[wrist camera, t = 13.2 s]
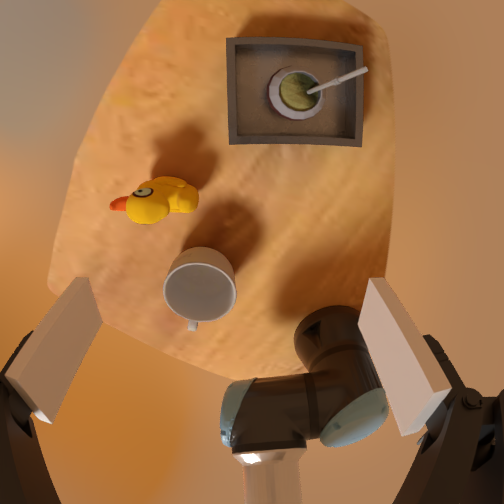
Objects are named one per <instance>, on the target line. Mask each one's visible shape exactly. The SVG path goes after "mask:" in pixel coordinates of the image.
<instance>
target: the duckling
mask: <svg viewBox="0 0 504 504" xmlns="http://www.w3.org/2000/svg"><path fill="white" fill-rule="evenodd" d="M198 202H199V194H198V191H197V189H196V188H195V187H193V186H192V185H189V184H187V183H186V181H184V180H182V179H180V178H176V177H170V176H161V177H157V178H155V179H154V180H150V181H146V182H144V183H142V184H141V185H140V186H139V187H138V189H137V190H136V191H135V192H133V193H132V194H131V195H130V196H125V197H120V198H117V199H115V200H114V201H112V202H111V204H110V210H117V211H126V212H127V215H128V217H129V218H130V219H131V220H132V221H134V222H136V223H138V224H144V225H147V224H153V223H156V222H158V221H160V220H161V219H163V218H164V217H166V216H167V215H168V214H169V212H184V213H190V212H193V211H194V210H195V209H196V208H197V206H198Z"/></svg>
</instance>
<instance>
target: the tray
mask: <svg viewBox="0 0 504 504" xmlns="http://www.w3.org/2000/svg"><path fill="white" fill-rule="evenodd" d="M226 56H227V96H228V128H229V145H235V144H314V145H335V146H351V147H362V133H363V93H364V83H363V74H360V75H358V76H355V77H353V78H350V79H348V80H345V81H343V82H342V83H341V84H339V85H332V86H330V87H327V88H326V100H325V103H324V105H323V107H322V109H321V110H320V111H319V112H318V113H317V114H316V115H315V116H313V117H311V118H308V119H306V120H303V121H294V120H288V119H286V118H283V117H281V116H279V115H278V114H277V113H276V112H275V111H274V110H273V109H272V108H271V107H270V104H269V102H268V100H267V91H266V87H267V84H268V82H269V80H270V78H271V76H272V75H273V74H275V73H276V72H277V71H278V70H279V69H282V68H285V67H288V66H304V67H306V68H309V69H311V70H313V71H315V72H316V73H317V74H318V75H319V76H320V78H321V79H322V80H323V83H325V82H328V81H330V80H332V78H335V77H337V76H343V75H345V74H348V73H350V72H352V71H355V70H357V69H360V68H362V67H363V46H360V45H354V44H348V43H341V42H333V41H325V40H315V39H303V38H285V37H235V38H226Z"/></svg>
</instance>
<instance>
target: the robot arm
mask: <svg viewBox="0 0 504 504" xmlns="http://www.w3.org/2000/svg"><path fill="white" fill-rule="evenodd" d="M102 323H103V321H102V318H101V315H100V312H99V310H98V307H97V304H96V301H95V298H94V295H93V291H92V288H91V285H90V282H89V278H85V277H76V278H75V279H74V280H73V281H72V283H71V284H70V285H69V286H68V287H67V289H66V290H65V291H64V292H63V294H62V295H61V296H60V297H59V299H58V300H57V301H56V303H55V304H54V305H53V306H52V308H51V309H50V310H49V311H48V313H47V314H46V315H45V317H44V318H43V320H42V321H41V322H40V323H39V325H38V326H37V327H36V329H35V330H34V331H31V332H30V333H29V334H27V335H26V336H25V337H24V338H23V340H22V341H21V342H20V344H19V347H17V348H16V350H15V351H14V353H13V354H12V356H11V357H10V358H9V360H8V361H7V363H6V365H5V366H4V368H3V369H2V371H1V372H0V504H61V502H60V500H59V497H58V495H57V493H56V490H55V488H54V486H53V483H52V480H51V478H50V475H49V472H48V470H47V467H46V464H45V461H44V458H43V455H42V452H41V448H40V446H39V442H38V438H37V435H36V431H35V427H34V423H33V420H32V418H31V417H30V414H31V412H33V413H34V414H35V415H36V416H37V417H38V418H39V419H40V420H42V421H45V422H48V423H51V424H53V422H54V419H55V417H56V415H57V413H58V410H59V408H60V406H61V403H62V401H63V399H64V397H65V395H66V393H67V391H68V389H69V386H70V384H71V382H72V380H73V378H74V376H75V374H76V372H77V370H78V368H79V366H80V364H81V362H82V360H83V358H84V356H85V354H86V352H87V351H88V349H89V347H90V345H91V343H92V341H93V339H94V337H95V336H96V333H97V332H98V330H99V328H100V327H101V325H102ZM294 345H295V350H296V353H297V355H298V357H299V358H300V360H301V361H302V363H303V364H304V366H305V367H306V368H307V370H308V371H309V373H304V374H295V375H287V376H278V377H268V378H253V379H248V380H240V381H235V382H233V383H232V384H230V385H229V386H228V388H227V390H226V392H225V394H224V397H223V402H222V407H221V415H220V429H221V440H222V442H223V444H224V445H226V446H228V447H232V456H233V457H234V458H235V459H237V460H238V461H239V462H240V463H241V464H242V466H243V480H244V497H245V504H302V497H301V486H300V474H299V463H298V462H299V459H300V458H301V457H302V455H303V454H304V453H305V452H306V451H307V446H306V440H310V439H316V438H320V441H321V442H322V443H323V445H325V446H327V447H332V446H333V447H341V446H345V445H349V444H352V443H355V442H357V441H359V440H361V439H363V438H365V437H367V436H368V435H370V434H372V433H373V432H374V431H376V430H377V429H378V428H379V427H380V426H381V425H382V424H383V423H384V422H385V420H386V418H387V416H388V413H389V406H388V403H387V399H386V395H387V397H388V400H389V403H390V405H391V408H392V411H393V413H394V416H395V419H396V422H397V425H398V427H399V430H400V433H401V436H405V435H408V434H412V433H416V432H418V431H419V430H420V429H421V428H422V427H423V426H424V424H426V426H427V429H428V431H427V432H426V433H425V434H424V435H423V436H422V438H420V440H419V441H418V442H417V444H418V445H419V444H420V443H421V442H422V443H421V446H420V448H419V450H418V453H417V455H416V457H415V460H414V462H413V464H412V466H411V468H410V471H409V473H408V475H407V477H406V479H405V481H404V483H403V485H402V487H401V489H400V491H399V493H398V494H397V496H396V498H395V500H394V502H393V503H392V504H459V503H460V504H504V389H503V390H502V391H501V392H500V394H499V395H498V396H497V397H482V395H481V394H480V393H479V392H478V391H476V390H475V389H472V388H466V387H465V385H464V384H463V382H462V380H461V379H460V377H459V375H458V373H457V372H456V370H455V368H454V366H453V365H452V363H451V362H450V360H448V356H447V355H446V354H445V353H444V350H443V349H442V347H441V345H440V344H439V342H438V341H437V340H435V339H434V338H433V337H432V336H431V335H423V336H422V335H421V333H420V331H419V330H418V328H417V326H416V325H415V323H414V322H413V320H412V319H411V317H410V315H409V314H408V312H407V311H406V310H405V308H404V306H403V305H402V303H401V302H400V300H399V299H398V297H397V296H396V294H395V293H394V291H393V290H392V288H391V287H390V285H389V284H388V283H387V281H386V280H385V278H384V277H378V278H369V281H368V286H367V290H366V294H365V298H364V302H363V306H362V310H361V313H360V312H358V311H357V310H355V309H353V308H350V307H346V306H332V307H327V308H323V309H321V310H318V311H316V312H314V313H312V314H311V315H309V316H308V317H306V318H305V319H304V320H303V321H302V322H301V323H300V325H299V326H298V327H297V329H296V331H295V334H294ZM368 350H369V352H370V354H371V357H372V359H373V362H374V364H375V367H376V369H377V372H378V374H379V377H380V379H381V382H382V384H383V387H384V389H383V387H382V384H381V382H380V379H379V377H378V374H377V372H376V369H375V367H374V364H373V362H372V359H371V357H370V354H369V352H368ZM385 393H386V394H385Z"/></svg>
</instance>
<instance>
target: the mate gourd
mask: <svg viewBox="0 0 504 504" xmlns="http://www.w3.org/2000/svg"><path fill="white" fill-rule="evenodd" d="M365 72H368V69H367V67H366V66H365V67H362V68H360V69H357V70H355V71H352V72H350V73H348V74H345V75H343V76H337V77H335V78H332V80H330V81H328V82H325V83H323V80H322V79H321V78H320V76H319V75H318V74H317V73H316V72H315V71H313V70H311V69H309V68H306V67H304V66H288V67H285V68H282V69H279V70H278V71H277V72H276V73H275V74H273V75H272V76H271V78H270V80H269V82H268V84H267V87H266V91H267V100H268V102H269V104H270V107H271V108H272V109H273V110H274V111H275V112H276V113H277V114H278V115H279V116H281V117H283V118H286V119H288V120H294V121H303V120H306V119H308V118H311V117H313V116H315V115H316V114H317V113H318V112H319V111H320V110H321V109H322V107H323V105H324V103H325V100H326V88H327V87H330V86H332V85H339V84H341V83H342V82H343V81H345V80H348V79H350V78H353V77H355V76H358V75H360V74H363V73H365Z"/></svg>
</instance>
